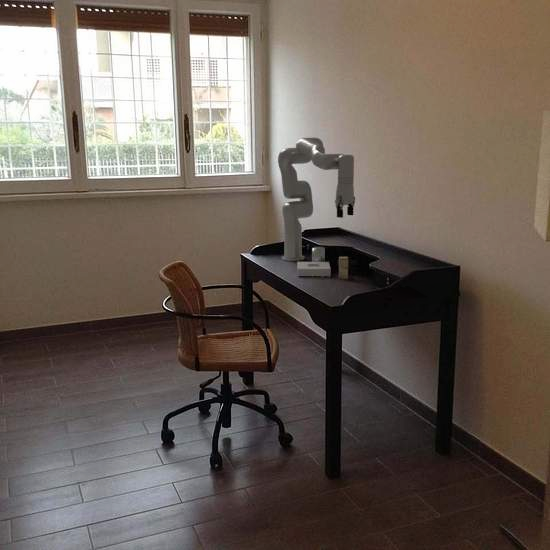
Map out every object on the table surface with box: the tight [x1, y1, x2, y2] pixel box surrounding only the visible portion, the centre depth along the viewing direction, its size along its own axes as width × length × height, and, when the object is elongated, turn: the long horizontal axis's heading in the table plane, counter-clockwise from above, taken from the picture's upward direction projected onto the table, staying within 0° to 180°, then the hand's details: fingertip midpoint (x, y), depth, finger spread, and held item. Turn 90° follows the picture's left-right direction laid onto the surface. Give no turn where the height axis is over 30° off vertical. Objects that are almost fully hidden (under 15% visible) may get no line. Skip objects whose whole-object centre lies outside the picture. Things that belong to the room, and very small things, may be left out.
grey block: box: [311, 246, 326, 262], centre depth 328 cm, size 7×7×10 cm
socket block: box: [296, 261, 332, 278], centre depth 315 cm, size 16×16×4 cm
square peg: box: [338, 256, 349, 280], centre depth 305 cm, size 4×4×10 cm
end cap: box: [336, 257, 358, 275], centre depth 317 cm, size 10×7×7 cm
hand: (345, 216), depth 308 cm, fingers open, 9 cm apart
